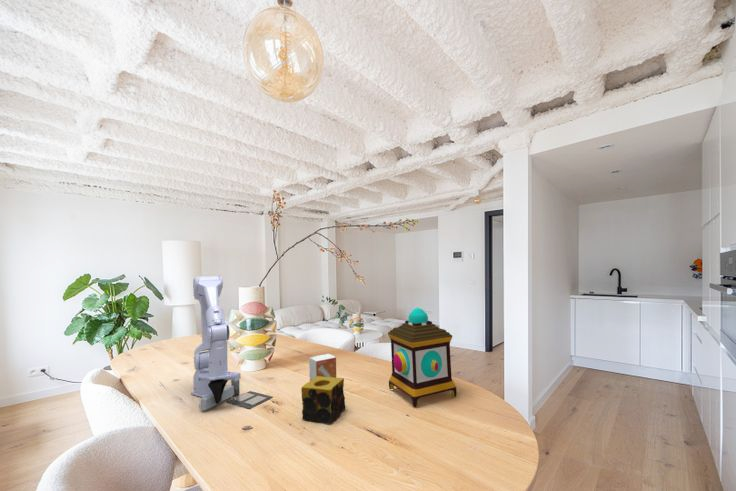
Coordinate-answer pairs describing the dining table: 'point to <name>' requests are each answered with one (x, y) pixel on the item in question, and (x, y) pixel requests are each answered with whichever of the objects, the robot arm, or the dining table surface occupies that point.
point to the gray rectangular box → (210, 400)
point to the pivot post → (235, 387)
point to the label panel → (249, 399)
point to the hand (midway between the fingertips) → (218, 402)
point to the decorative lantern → (421, 358)
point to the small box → (322, 366)
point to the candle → (323, 399)
